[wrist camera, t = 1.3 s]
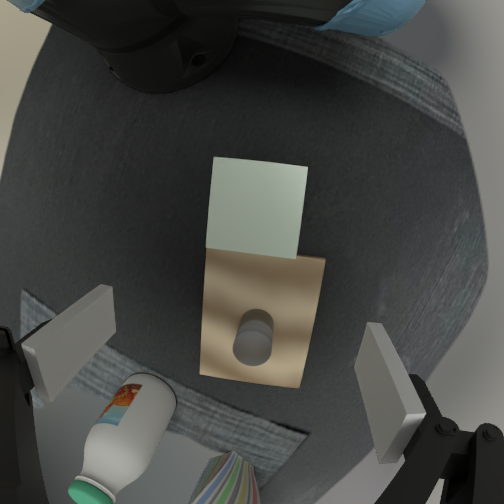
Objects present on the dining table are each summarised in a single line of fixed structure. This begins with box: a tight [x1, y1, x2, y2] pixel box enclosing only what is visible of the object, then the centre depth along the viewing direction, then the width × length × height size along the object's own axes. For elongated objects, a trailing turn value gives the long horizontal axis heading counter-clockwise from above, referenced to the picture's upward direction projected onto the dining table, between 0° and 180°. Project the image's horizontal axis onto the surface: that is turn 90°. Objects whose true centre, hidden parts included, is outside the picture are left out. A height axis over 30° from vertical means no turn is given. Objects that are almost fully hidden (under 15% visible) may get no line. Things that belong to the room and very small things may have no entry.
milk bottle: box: [68, 373, 176, 504], centre depth 29 cm, size 8×8×20 cm
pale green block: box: [206, 157, 308, 259], centre depth 28 cm, size 7×7×8 cm
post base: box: [200, 248, 326, 388], centre depth 31 cm, size 16×12×6 cm
